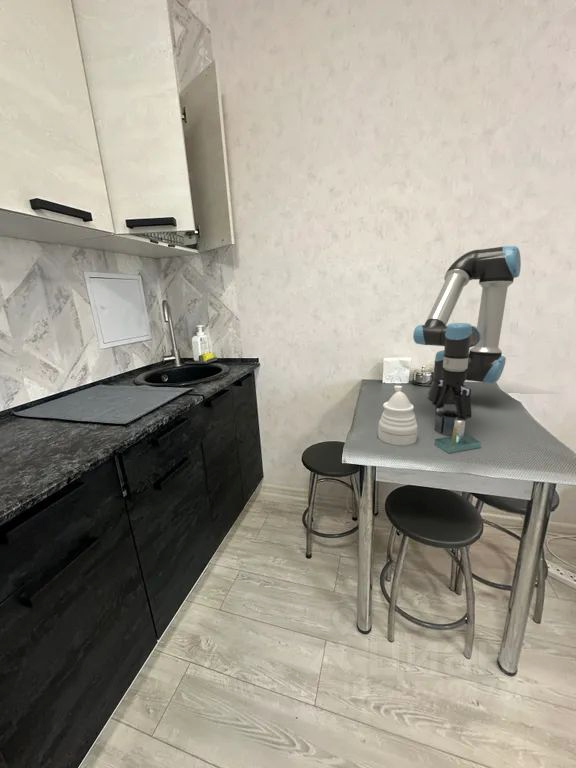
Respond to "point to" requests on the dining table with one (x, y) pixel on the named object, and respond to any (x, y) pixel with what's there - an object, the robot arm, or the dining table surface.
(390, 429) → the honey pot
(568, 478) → the dining table surface
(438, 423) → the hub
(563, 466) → the dining table surface
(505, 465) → the dining table surface
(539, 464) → the dining table surface
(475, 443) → the teal two-tone fixture
